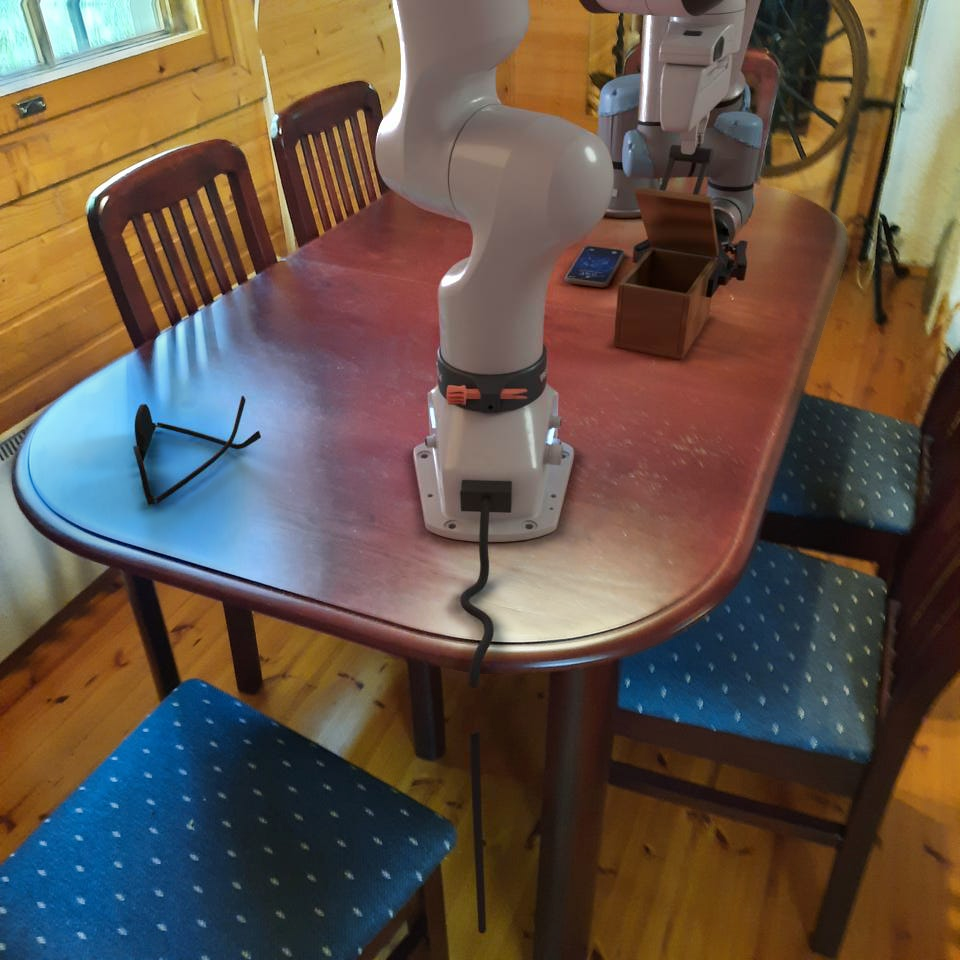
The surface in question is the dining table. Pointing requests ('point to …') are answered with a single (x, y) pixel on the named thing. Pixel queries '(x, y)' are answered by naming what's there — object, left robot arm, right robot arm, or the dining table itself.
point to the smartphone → (595, 266)
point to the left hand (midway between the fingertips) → (691, 149)
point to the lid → (680, 210)
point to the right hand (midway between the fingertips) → (673, 282)
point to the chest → (663, 303)
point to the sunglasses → (147, 427)
